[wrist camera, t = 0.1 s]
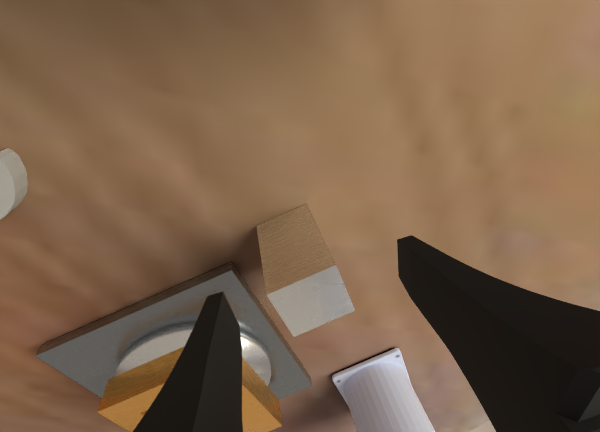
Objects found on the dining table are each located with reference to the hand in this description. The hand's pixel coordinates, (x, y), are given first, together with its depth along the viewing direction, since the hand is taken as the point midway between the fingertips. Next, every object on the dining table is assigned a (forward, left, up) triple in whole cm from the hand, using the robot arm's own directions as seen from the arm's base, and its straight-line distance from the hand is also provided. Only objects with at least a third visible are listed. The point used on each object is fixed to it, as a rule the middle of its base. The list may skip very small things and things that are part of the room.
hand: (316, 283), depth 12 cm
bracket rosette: (-13, +14, -10) cm, 22 cm away
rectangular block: (-4, +1, -10) cm, 11 cm away
